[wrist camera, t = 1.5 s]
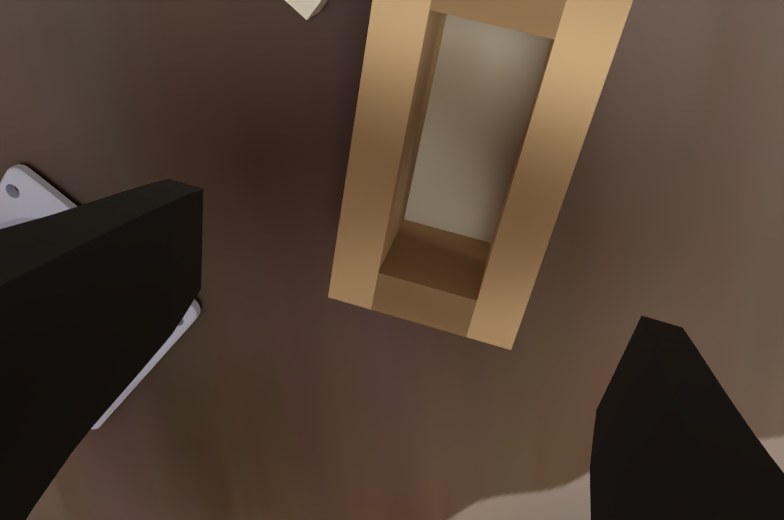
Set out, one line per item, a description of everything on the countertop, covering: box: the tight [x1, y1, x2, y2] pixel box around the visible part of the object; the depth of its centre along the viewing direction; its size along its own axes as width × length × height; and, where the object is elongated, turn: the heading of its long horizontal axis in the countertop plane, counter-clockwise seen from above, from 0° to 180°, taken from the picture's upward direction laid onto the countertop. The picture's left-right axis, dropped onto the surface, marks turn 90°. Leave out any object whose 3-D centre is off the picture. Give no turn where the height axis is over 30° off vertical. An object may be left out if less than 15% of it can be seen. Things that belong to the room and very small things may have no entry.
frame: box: [328, 0, 633, 350], centre depth 18 cm, size 9×5×4 cm, turn 170°
